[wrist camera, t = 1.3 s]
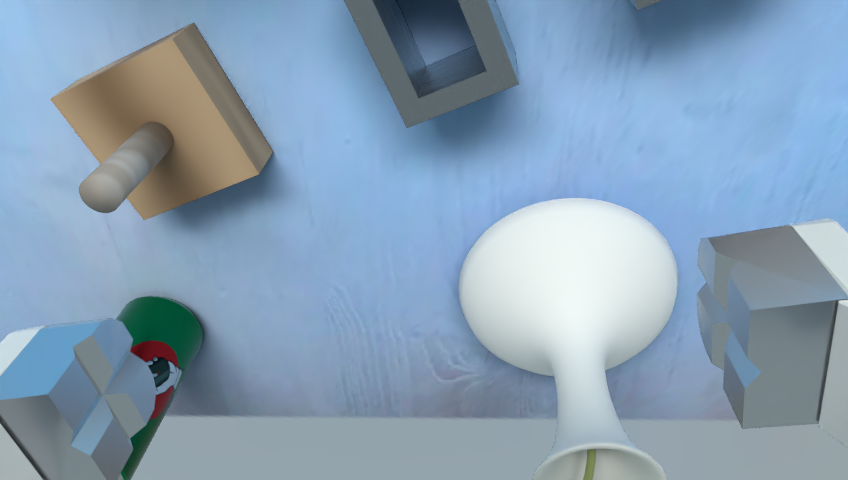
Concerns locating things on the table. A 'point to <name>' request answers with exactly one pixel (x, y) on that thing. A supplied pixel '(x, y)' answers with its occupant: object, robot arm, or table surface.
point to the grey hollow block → (643, 3)
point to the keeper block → (162, 127)
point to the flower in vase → (573, 318)
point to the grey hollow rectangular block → (446, 79)
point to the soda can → (159, 358)
